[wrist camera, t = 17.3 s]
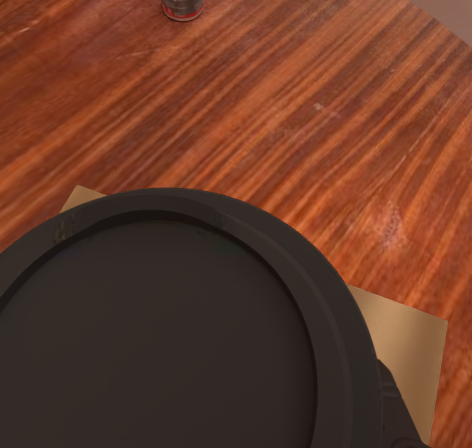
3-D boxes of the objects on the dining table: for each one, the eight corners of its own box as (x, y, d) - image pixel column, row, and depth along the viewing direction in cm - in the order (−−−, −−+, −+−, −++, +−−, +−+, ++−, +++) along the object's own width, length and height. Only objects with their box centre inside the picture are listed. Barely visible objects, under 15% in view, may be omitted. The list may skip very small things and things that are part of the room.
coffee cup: (294, 479, 18) (520, 808, 4) (103, 490, 18) (-348, 891, 4) (277, 293, 21) (370, 132, 8) (118, 299, 21) (-86, 142, 7)
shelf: (386, 337, 30) (450, 320, 21) (334, 583, 24) (394, 695, 15) (115, 234, 32) (75, 182, 24) (7, 430, 26) (-96, 453, 18)
